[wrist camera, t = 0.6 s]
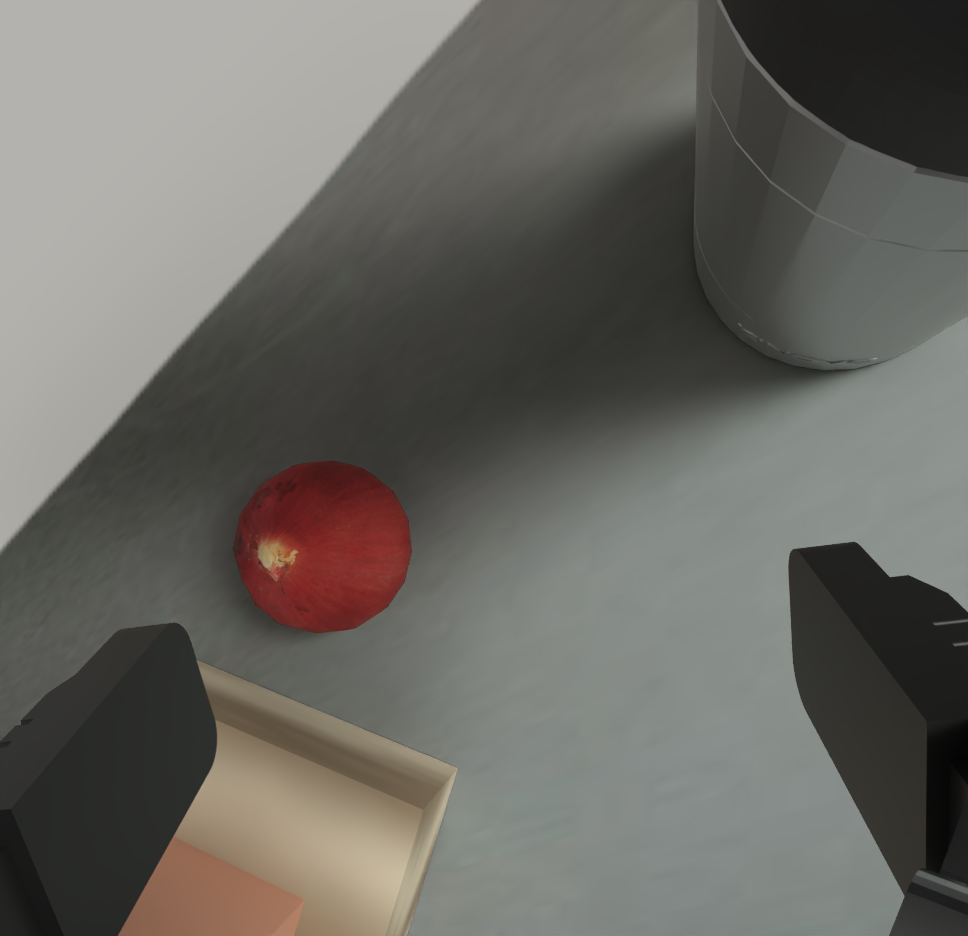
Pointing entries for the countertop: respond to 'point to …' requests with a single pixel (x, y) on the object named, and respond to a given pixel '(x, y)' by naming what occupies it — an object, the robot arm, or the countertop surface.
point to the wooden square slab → (318, 809)
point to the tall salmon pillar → (209, 900)
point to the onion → (323, 546)
